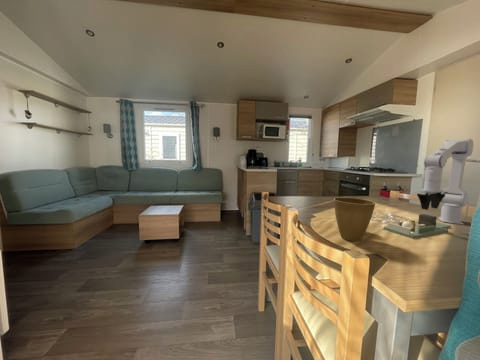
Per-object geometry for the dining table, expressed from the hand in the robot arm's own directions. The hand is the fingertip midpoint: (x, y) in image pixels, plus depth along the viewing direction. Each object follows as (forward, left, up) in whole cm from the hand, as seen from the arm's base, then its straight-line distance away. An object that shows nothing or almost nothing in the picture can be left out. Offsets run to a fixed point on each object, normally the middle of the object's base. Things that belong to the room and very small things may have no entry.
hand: (429, 208), depth 97 cm
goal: (+15, -11, -10) cm, 21 cm away
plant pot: (+36, -30, -10) cm, 48 cm away
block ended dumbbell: (+5, -4, -8) cm, 10 cm away
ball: (+12, -9, -7) cm, 17 cm away
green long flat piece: (+3, -3, -10) cm, 11 cm away
